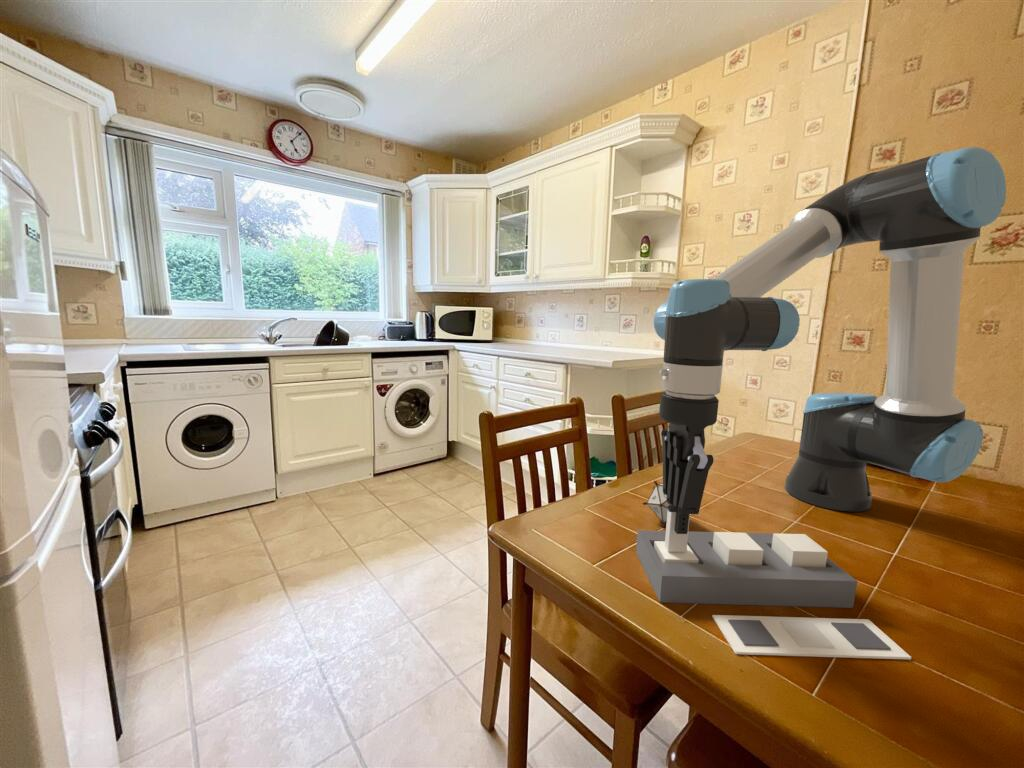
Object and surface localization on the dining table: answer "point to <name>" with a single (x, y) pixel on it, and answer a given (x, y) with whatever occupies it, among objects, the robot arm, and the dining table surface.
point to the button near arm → (799, 550)
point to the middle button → (737, 549)
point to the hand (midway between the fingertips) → (675, 548)
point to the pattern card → (807, 637)
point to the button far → (674, 554)
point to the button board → (742, 577)
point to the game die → (658, 502)
